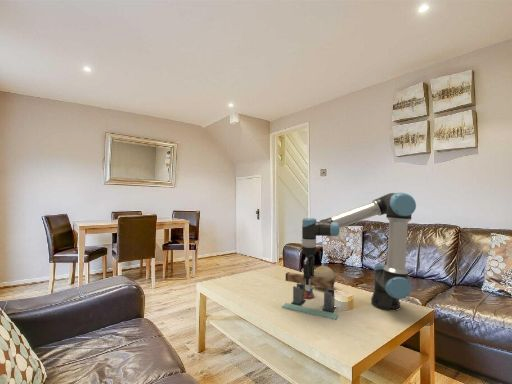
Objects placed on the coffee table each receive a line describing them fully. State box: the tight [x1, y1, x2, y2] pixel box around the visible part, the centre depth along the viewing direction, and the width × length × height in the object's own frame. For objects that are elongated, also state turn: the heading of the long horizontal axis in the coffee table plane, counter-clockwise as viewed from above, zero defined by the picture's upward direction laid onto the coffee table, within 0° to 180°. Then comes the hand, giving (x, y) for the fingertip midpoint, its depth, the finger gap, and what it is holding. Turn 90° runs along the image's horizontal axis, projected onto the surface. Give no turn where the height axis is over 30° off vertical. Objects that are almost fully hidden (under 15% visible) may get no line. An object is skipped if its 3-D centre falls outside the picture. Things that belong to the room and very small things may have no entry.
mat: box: [281, 302, 339, 320], centre depth 144 cm, size 30×6×1 cm, turn 61°
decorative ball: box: [313, 265, 336, 290], centre depth 179 cm, size 15×15×15 cm
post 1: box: [290, 283, 307, 306], centre depth 155 cm, size 6×9×10 cm, turn 151°
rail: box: [285, 272, 335, 290], centre depth 144 cm, size 26×4×4 cm, turn 61°
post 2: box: [321, 288, 337, 313], centre depth 147 cm, size 6×9×10 cm, turn 151°
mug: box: [304, 284, 316, 299], centre depth 166 cm, size 12×9×11 cm
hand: (308, 289), depth 144 cm, fingers closed on rail, 3 cm apart
